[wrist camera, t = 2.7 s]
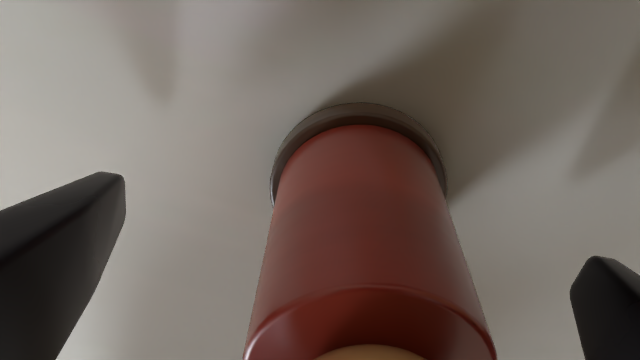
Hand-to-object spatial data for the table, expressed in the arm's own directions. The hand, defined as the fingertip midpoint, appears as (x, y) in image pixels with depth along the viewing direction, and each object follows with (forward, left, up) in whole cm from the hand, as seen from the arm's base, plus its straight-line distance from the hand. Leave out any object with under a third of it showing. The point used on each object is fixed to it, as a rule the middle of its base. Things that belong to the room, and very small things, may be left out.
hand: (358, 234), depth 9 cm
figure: (0, 0, -2) cm, 2 cm away
